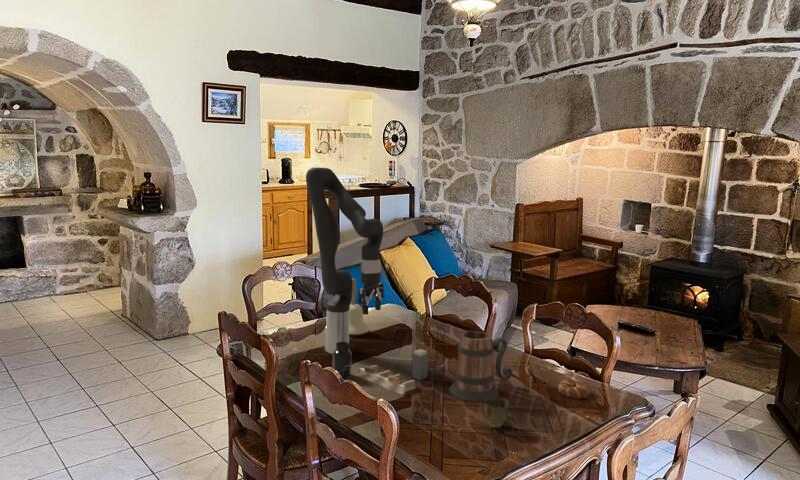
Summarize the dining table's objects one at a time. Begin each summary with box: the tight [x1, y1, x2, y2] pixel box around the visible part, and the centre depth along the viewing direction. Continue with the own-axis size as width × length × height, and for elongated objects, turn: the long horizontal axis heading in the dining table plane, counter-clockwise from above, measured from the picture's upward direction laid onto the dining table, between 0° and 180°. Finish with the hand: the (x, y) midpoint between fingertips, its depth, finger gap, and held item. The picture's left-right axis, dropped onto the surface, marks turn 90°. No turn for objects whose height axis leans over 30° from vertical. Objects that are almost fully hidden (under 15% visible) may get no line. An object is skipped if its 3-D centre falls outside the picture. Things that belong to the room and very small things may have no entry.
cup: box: [483, 396, 510, 429], centre depth 176 cm, size 8×7×8 cm
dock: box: [358, 364, 416, 395], centre depth 208 cm, size 22×7×5 cm, turn 45°
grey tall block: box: [411, 348, 429, 381], centre depth 213 cm, size 4×4×10 cm
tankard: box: [448, 330, 513, 402], centre depth 203 cm, size 24×17×20 cm
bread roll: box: [557, 378, 592, 399], centre depth 204 cm, size 12×11×4 cm
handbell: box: [349, 277, 370, 335], centre depth 264 cm, size 15×15×25 cm
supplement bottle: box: [332, 342, 353, 379], centre depth 213 cm, size 7×7×12 cm
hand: (371, 312), depth 228 cm, fingers open, 8 cm apart
